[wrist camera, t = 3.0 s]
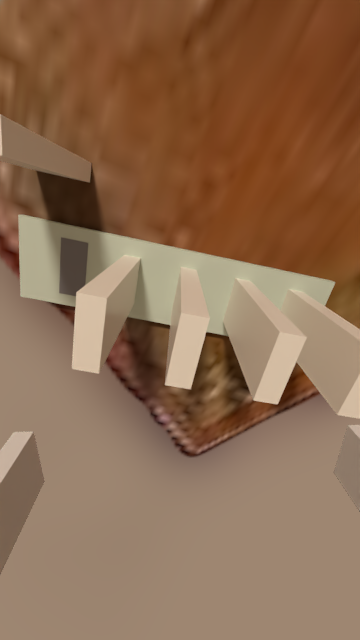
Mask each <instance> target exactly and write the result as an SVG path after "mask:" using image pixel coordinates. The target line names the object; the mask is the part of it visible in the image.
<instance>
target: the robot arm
mask: <svg viewBox="0 0 360 640" xmlns="http://www.w3.org/2000/svg"><path fill="white" fill-rule="evenodd" d="M334 474H335V475H336V477H337V478H338V480H339V481H340V483H341V484H342V486H343V487H344V489H345V490H346V492H347V493H348V495H349V496H350V498H351V499H352V501H353V502H354V504H355V505H356V507H357V508H358V510H359V511H360V425H348V426H347V429H346V433H345V436H344V439H343V443H342V446H341V450H340V453H339V456H338V460H337V463H336V467H335V470H334ZM43 483H44V477H43V473H42V468H41V464H40V459H39V454H38V450H37V445H36V441H35V436H34V432H14V433H13V434H12V436H11V437H10V438H9V440H8V441H7V442H6V444H5V445H4V446H3V448H2V449H1V450H0V574H1V572H2V570H3V568H4V565H5V563H6V561H7V559H8V557H9V555H10V553H11V551H12V549H13V546H14V544H15V542H16V540H17V538H18V536H19V534H20V532H21V530H22V527H23V525H24V523H25V521H26V519H27V517H28V515H29V513H30V511H31V509H32V506H33V504H34V502H35V500H36V498H37V496H38V494H39V492H40V489H41V487H42V485H43Z"/></svg>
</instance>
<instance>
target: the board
mask: <svg viewBox="0 0 360 640" xmlns="http://www.w3.org/2000/svg"><path fill="white" fill-rule="evenodd" d="M19 255H20V296H21V297H27V298H31V299H37V300H42V301H47V302H52V303H58V304H63V305H68V306H73V307H76V292H77V291H79V290H80V289H81V288H83V287H84V286H85V285H86V284H88V283H89V282H90V281H92V280H93V279H94V278H95V277H97V276H98V275H99V274H100V273H102V272H103V271H104V270H106V269H107V268H108V267H109V266H111V265H112V264H113V263H115V262H116V261H117V260H118V259H120V258H121V257H122V256H124V255H128V256H133V257H138V258H141V260H140V267H139V273H138V280H137V287H136V294H135V300H134V305H133V307H132V309H131V311H130V313H129V315H128V317H131V318H136V319H141V320H147V321H152V322H157V323H162V324H168V325H170V323H171V312H172V307H173V302H174V297H175V292H176V287H177V283H178V278H179V273H180V268H181V267H186V268H190V269H195V270H197V273H198V277H199V280H200V284H201V288H202V291H203V295H204V298H205V302H206V306H207V309H208V313H209V317H210V320H209V324H208V327H207V331H206V332H210V333H215V334H220V335H225V336H228V333H227V331H226V328H225V325H224V323H223V319H224V315H225V312H226V309H227V305H228V302H229V298H230V295H231V291H232V288H233V285H234V281H235V278H238V279H243V280H248V281H251V282H252V283H253V284H254V285H255V286H256V287H257V288H258V289H259V290H260V291H261V292H262V293H263V294H264V295H265V296H266V297H267V298H268V299H269V300H270V301H271V302H272V303H273V304H274V305H275V306H276V307H277V308H278V309H279V310H281V307H282V304H283V302H284V299H285V296H286V294H287V291H288V289H291V290H296V291H301V292H304V293H305V294H307V295H308V296H310V297H311V298H313V299H314V300H316V301H317V302H319V303H320V304H322V305H323V306H325V305H326V302H327V300H328V298H329V296H330V293H331V291H332V289H333V287H334V284H335V282H333V281H331V280H326V279H321V278H317V277H312V276H307V275H303V274H298V273H293V272H289V271H284V270H279V269H275V268H270V267H265V266H260V265H256V264H251V263H246V262H242V261H237V260H232V259H228V258H223V257H218V256H214V255H209V254H204V253H200V252H195V251H190V250H186V249H181V248H176V247H172V246H167V245H162V244H158V243H153V242H148V241H144V240H139V239H134V238H130V237H125V236H120V235H116V234H111V233H106V232H102V231H97V230H92V229H88V228H83V227H78V226H74V225H69V224H64V223H59V222H55V221H50V220H45V219H41V218H36V217H31V216H27V215H19Z"/></svg>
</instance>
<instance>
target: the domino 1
mask: <svg viewBox="0 0 360 640" xmlns="http://www.w3.org/2000/svg"><path fill="white" fill-rule="evenodd" d="M0 161H3V162H7V163H11V164H14V165H18V166H21V167H25V168H29V169H32V170H36V171H40V172H45V173H49V174H53V175H58V176H62V177H67V178H71V179H75V180H80V181H84V182H89V183H90V178H91V162H89V161H87V160H85V159H83V158H81V157H79V156H77V155H76V154H74V153H72V152H70V151H68V150H66V149H64V148H63V147H61V146H59V145H57V144H55V143H53V142H51V141H49V140H48V139H46V138H44V137H42V136H40V135H38V134H36V133H34V132H33V131H31V130H29V129H27V128H25V127H23V126H21V125H20V124H18V123H16V122H14V121H12V120H10V119H8V118H6V117H5V116H3V115H1V114H0Z"/></svg>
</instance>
